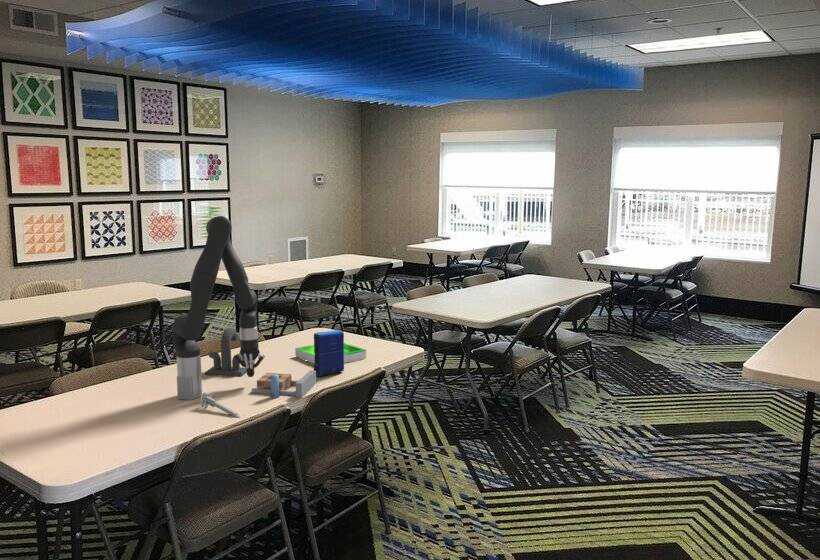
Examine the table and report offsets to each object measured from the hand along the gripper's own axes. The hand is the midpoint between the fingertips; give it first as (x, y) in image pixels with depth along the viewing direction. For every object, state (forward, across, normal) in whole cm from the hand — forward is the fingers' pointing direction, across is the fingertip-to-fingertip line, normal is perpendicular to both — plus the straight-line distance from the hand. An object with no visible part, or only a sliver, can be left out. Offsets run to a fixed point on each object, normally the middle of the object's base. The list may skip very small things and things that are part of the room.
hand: (250, 376), depth 275 cm
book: (+5, +28, +22) cm, 36 cm away
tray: (+6, +22, +48) cm, 53 cm away
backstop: (+4, +15, -2) cm, 16 cm away
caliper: (+4, 0, -31) cm, 31 cm away
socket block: (+4, +11, -2) cm, 12 cm away
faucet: (+5, -18, +20) cm, 27 cm away
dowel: (+4, +15, -12) cm, 19 cm away
